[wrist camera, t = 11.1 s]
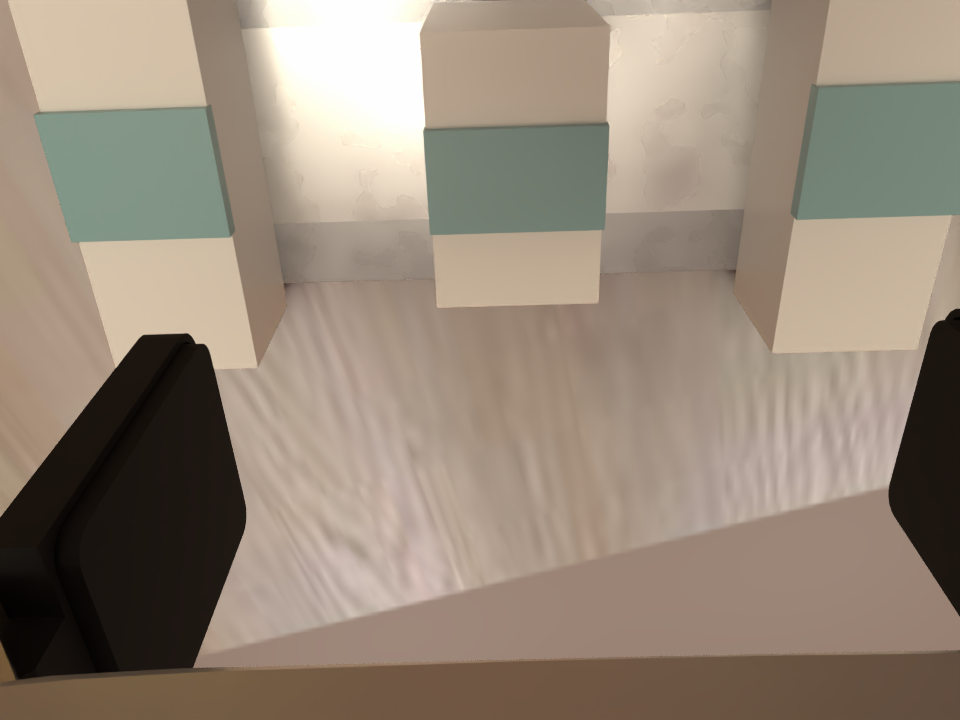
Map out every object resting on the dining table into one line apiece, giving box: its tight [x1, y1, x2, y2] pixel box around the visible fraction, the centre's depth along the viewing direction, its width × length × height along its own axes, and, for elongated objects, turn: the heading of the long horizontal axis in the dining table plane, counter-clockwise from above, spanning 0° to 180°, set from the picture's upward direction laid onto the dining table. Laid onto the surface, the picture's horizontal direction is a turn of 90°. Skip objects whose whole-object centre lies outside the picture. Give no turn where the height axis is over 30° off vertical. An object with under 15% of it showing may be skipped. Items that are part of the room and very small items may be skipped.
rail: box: [236, 0, 772, 283], centre depth 30 cm, size 30×12×2 cm, turn 92°
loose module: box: [419, 0, 611, 308], centre depth 26 cm, size 5×8×7 cm, turn 2°
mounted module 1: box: [8, 0, 287, 369], centre depth 27 cm, size 5×14×5 cm, turn 2°
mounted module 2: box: [733, 0, 960, 353], centre depth 27 cm, size 5×14×5 cm, turn 2°
